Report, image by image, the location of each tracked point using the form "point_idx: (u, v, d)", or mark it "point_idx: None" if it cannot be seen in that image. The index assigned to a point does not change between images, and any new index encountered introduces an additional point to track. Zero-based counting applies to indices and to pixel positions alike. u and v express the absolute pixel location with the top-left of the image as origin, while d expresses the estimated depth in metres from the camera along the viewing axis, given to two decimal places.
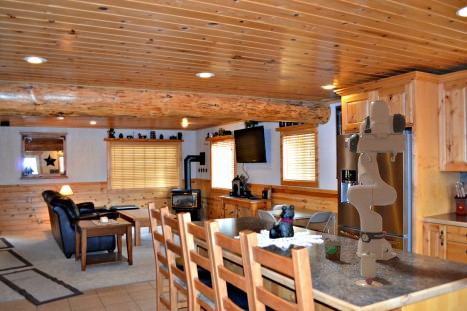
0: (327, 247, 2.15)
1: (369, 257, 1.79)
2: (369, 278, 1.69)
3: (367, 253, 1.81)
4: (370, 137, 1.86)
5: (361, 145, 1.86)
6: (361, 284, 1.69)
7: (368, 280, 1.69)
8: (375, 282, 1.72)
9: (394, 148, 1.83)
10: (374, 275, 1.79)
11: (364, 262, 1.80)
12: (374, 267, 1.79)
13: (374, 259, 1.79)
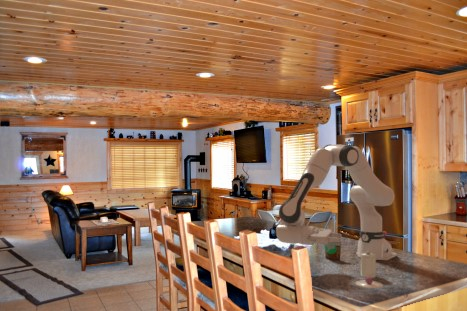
0: (327, 247, 2.15)
1: (369, 257, 1.79)
2: (369, 278, 1.69)
3: (367, 253, 1.81)
4: None
5: None
6: (361, 284, 1.69)
7: (368, 280, 1.69)
8: (375, 282, 1.72)
9: None
10: (374, 275, 1.79)
11: (364, 262, 1.80)
12: (374, 267, 1.79)
13: (374, 259, 1.79)
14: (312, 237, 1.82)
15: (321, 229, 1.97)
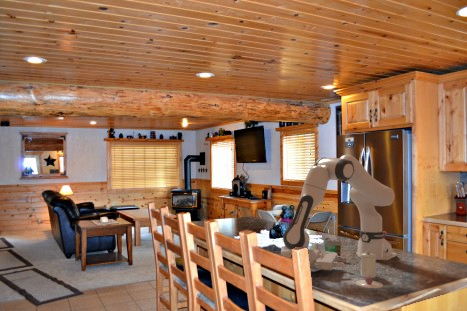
0: (327, 247, 2.15)
1: (369, 257, 1.79)
2: (369, 278, 1.69)
3: (367, 253, 1.81)
4: None
5: None
6: (361, 284, 1.69)
7: (368, 280, 1.69)
8: (375, 282, 1.72)
9: None
10: (374, 275, 1.79)
11: (364, 262, 1.80)
12: (374, 267, 1.79)
13: (374, 259, 1.79)
14: (317, 262, 1.81)
15: (326, 252, 1.96)
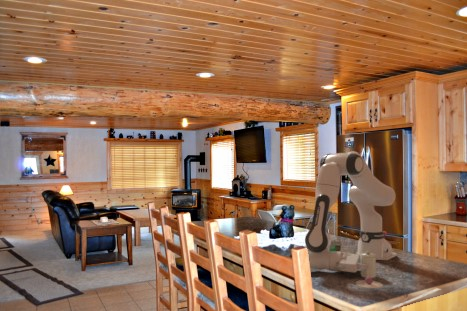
0: None
1: (369, 257, 1.79)
2: (369, 278, 1.69)
3: (367, 253, 1.81)
4: None
5: None
6: (361, 284, 1.69)
7: (368, 280, 1.69)
8: (375, 282, 1.72)
9: None
10: (374, 275, 1.79)
11: (364, 262, 1.80)
12: (374, 267, 1.79)
13: (374, 259, 1.79)
14: (341, 264, 1.77)
15: (348, 254, 1.92)
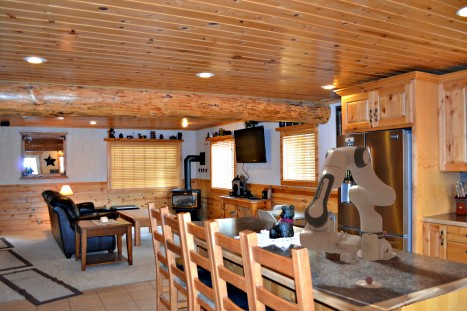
0: None
1: (371, 237, 1.67)
2: (369, 278, 1.69)
3: (369, 233, 1.69)
4: None
5: None
6: (361, 284, 1.69)
7: (368, 280, 1.69)
8: (375, 282, 1.72)
9: None
10: (376, 257, 1.68)
11: (366, 243, 1.68)
12: (376, 248, 1.68)
13: (376, 240, 1.68)
14: (341, 245, 1.65)
15: (348, 235, 1.81)
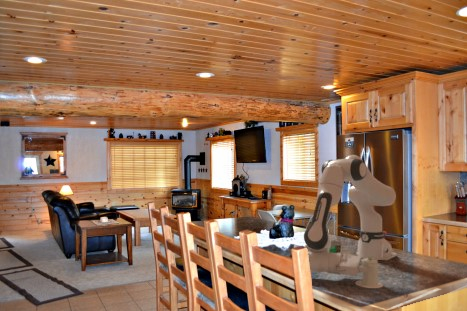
0: None
1: (371, 263, 1.67)
2: None
3: (369, 259, 1.69)
4: None
5: None
6: (361, 284, 1.69)
7: None
8: None
9: None
10: (376, 282, 1.68)
11: None
12: (376, 274, 1.68)
13: (376, 265, 1.68)
14: (341, 267, 1.65)
15: (349, 256, 1.80)
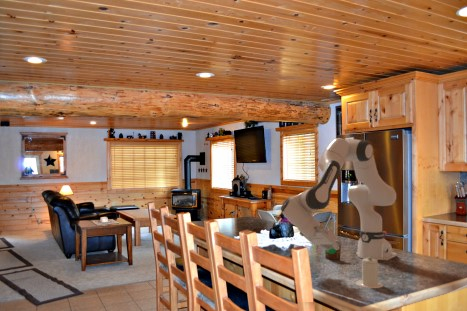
0: None
1: (371, 263, 1.67)
2: None
3: (369, 259, 1.69)
4: None
5: (311, 241, 1.89)
6: (361, 284, 1.69)
7: None
8: None
9: (327, 243, 1.76)
10: (376, 282, 1.68)
11: (366, 268, 1.68)
12: (376, 274, 1.68)
13: (376, 265, 1.68)
14: (325, 229, 1.73)
15: None
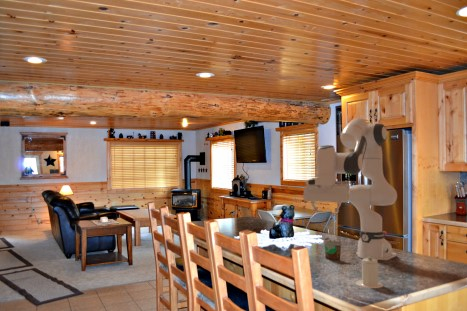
0: (327, 247, 2.15)
1: (371, 263, 1.67)
2: None
3: (369, 259, 1.69)
4: (314, 188, 1.84)
5: (305, 196, 1.86)
6: (361, 284, 1.69)
7: None
8: None
9: (337, 200, 1.80)
10: (376, 282, 1.68)
11: (366, 268, 1.68)
12: (376, 274, 1.68)
13: (376, 265, 1.68)
14: None
15: None
